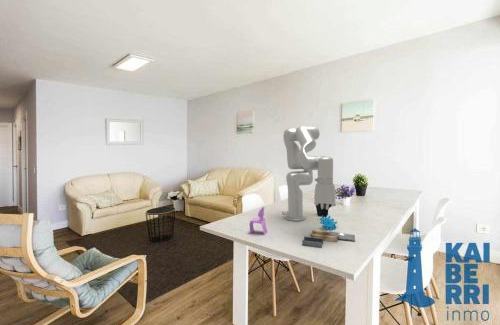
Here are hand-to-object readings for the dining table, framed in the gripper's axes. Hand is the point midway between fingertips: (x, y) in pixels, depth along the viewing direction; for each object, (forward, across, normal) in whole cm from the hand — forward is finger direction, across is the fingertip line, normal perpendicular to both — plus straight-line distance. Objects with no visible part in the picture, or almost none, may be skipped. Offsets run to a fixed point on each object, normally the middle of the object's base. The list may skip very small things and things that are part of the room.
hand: (324, 216), depth 129 cm
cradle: (+11, -4, -11) cm, 17 cm away
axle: (+11, +8, 0) cm, 14 cm away
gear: (+12, +1, +16) cm, 20 cm away
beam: (+12, 0, -1) cm, 12 cm away
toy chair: (+12, -36, -3) cm, 38 cm away
